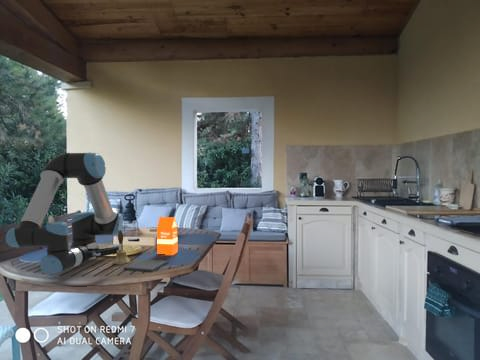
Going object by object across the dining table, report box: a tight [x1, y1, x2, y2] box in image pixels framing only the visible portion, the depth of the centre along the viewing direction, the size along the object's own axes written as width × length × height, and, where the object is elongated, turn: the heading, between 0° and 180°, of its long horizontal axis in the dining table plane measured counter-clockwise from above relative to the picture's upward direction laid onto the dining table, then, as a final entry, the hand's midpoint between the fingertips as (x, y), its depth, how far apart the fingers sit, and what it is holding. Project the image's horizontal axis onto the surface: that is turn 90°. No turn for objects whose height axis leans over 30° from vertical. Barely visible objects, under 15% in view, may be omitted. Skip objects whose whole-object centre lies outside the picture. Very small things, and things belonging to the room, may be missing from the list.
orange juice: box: [156, 216, 179, 256], centre depth 197 cm, size 8×9×20 cm
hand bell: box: [112, 230, 131, 265], centre depth 180 cm, size 8×8×16 cm
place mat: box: [123, 258, 169, 273], centre depth 173 cm, size 15×15×1 cm
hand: (108, 245), depth 170 cm, fingers open, 13 cm apart
